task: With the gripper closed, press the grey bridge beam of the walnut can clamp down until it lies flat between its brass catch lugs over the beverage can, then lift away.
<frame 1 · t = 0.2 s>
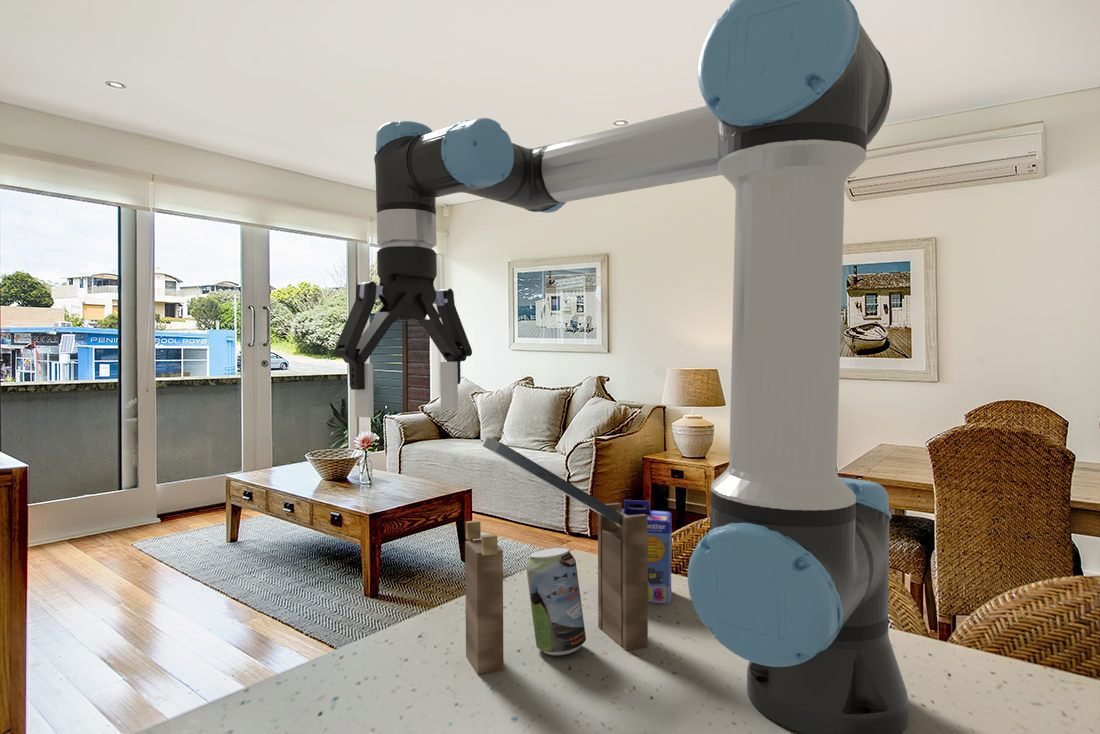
hand: (409, 413, 86), 28 cm above the kitchen counter, tool pointing down, fingers open, 13 cm apart
grey bridge beam: (562, 485, 80), point 20 cm above the kitchen counter, hinge at 32.0°
can clamp frame: (556, 648, 80), on the kitchen counter
beverage can: (556, 650, 80), on the kitchen counter
ink cartridge box: (637, 597, 97), on the kitchen counter
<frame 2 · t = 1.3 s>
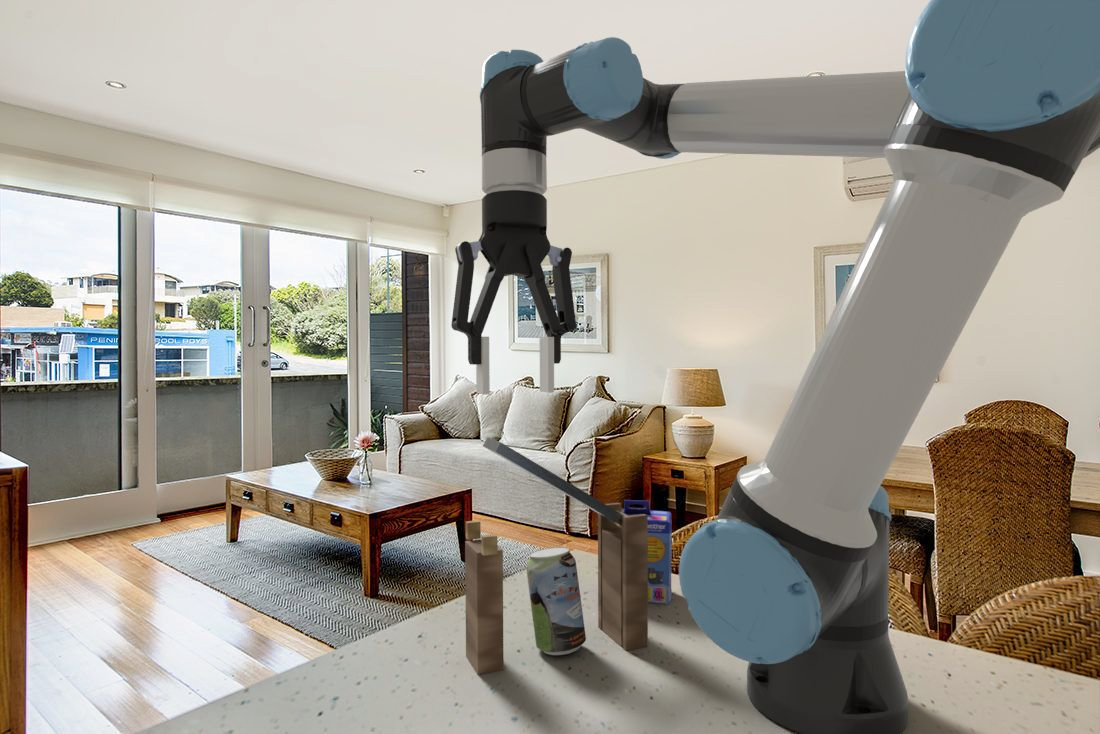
hand: (515, 392, 77), 31 cm above the kitchen counter, tool pointing down, fingers open, 7 cm apart
nothing on the kitchen counter moved.
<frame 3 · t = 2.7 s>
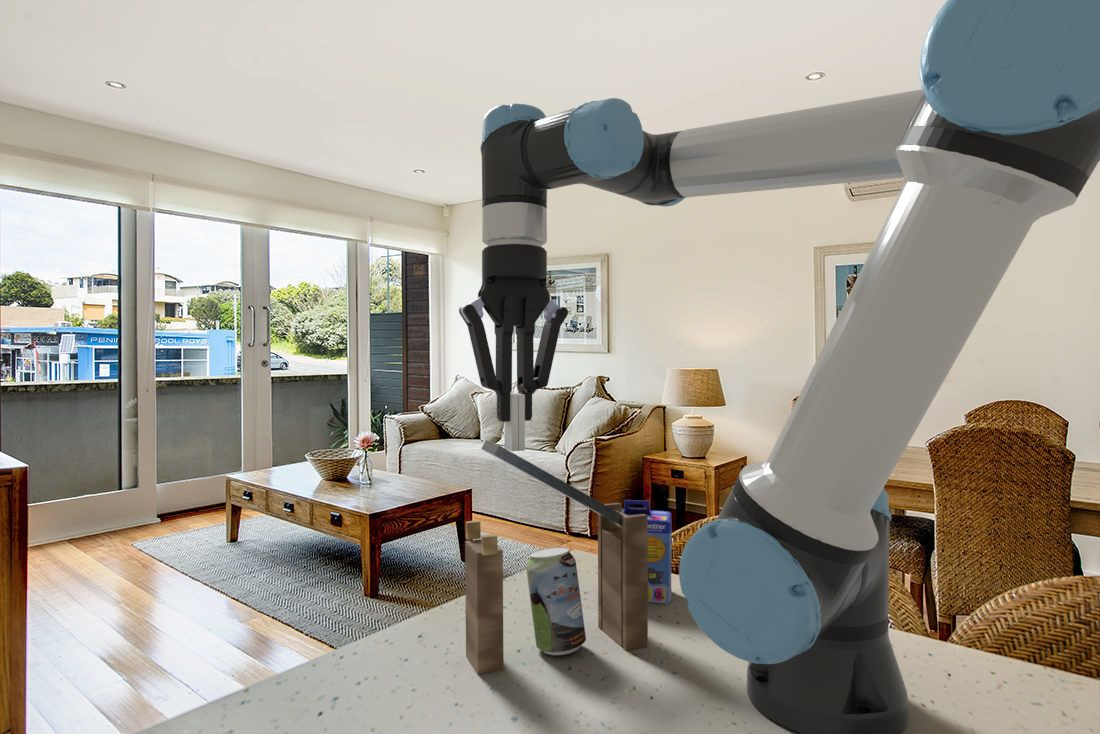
hand: (514, 449, 77), 24 cm above the kitchen counter, tool pointing down, fingers closed
grey bridge beam: (561, 487, 80), point 20 cm above the kitchen counter, hinge at 30.9°, touching gripper
everything else where it was.
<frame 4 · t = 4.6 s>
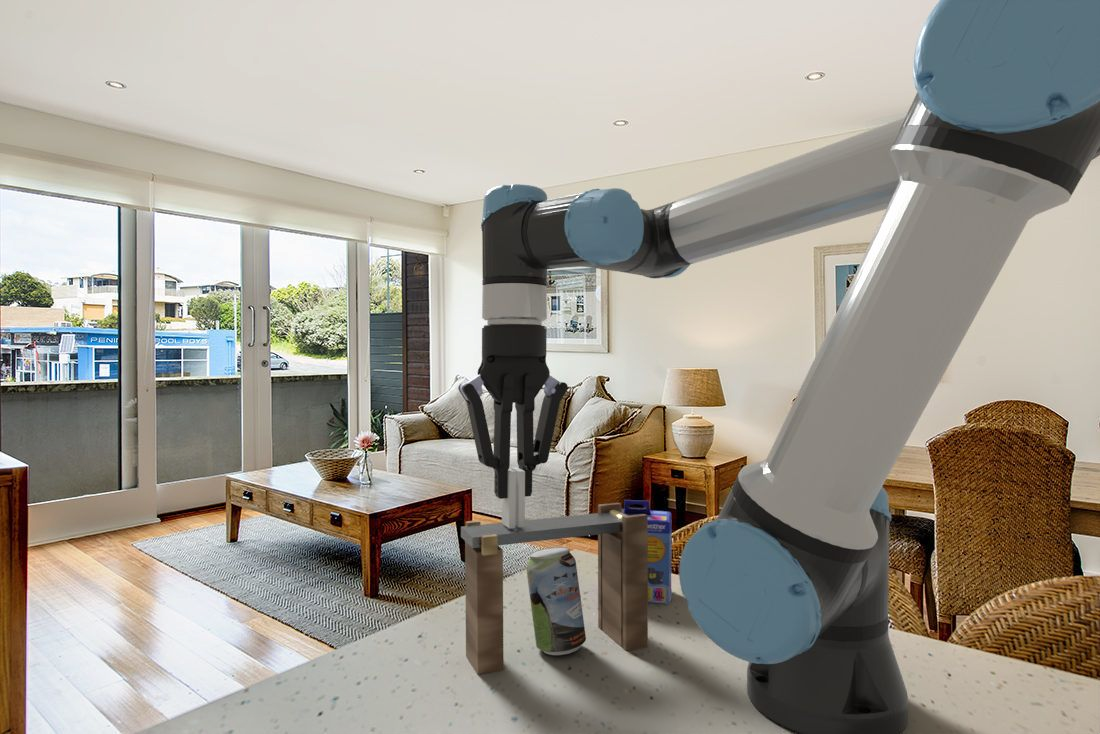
hand: (513, 524, 78), 16 cm above the kitchen counter, tool pointing down, fingers closed, pressing on grey bridge beam
grey bridge beam: (551, 528, 79), point 15 cm above the kitchen counter, hinge at 0.5°, touching gripper
everything else where it was.
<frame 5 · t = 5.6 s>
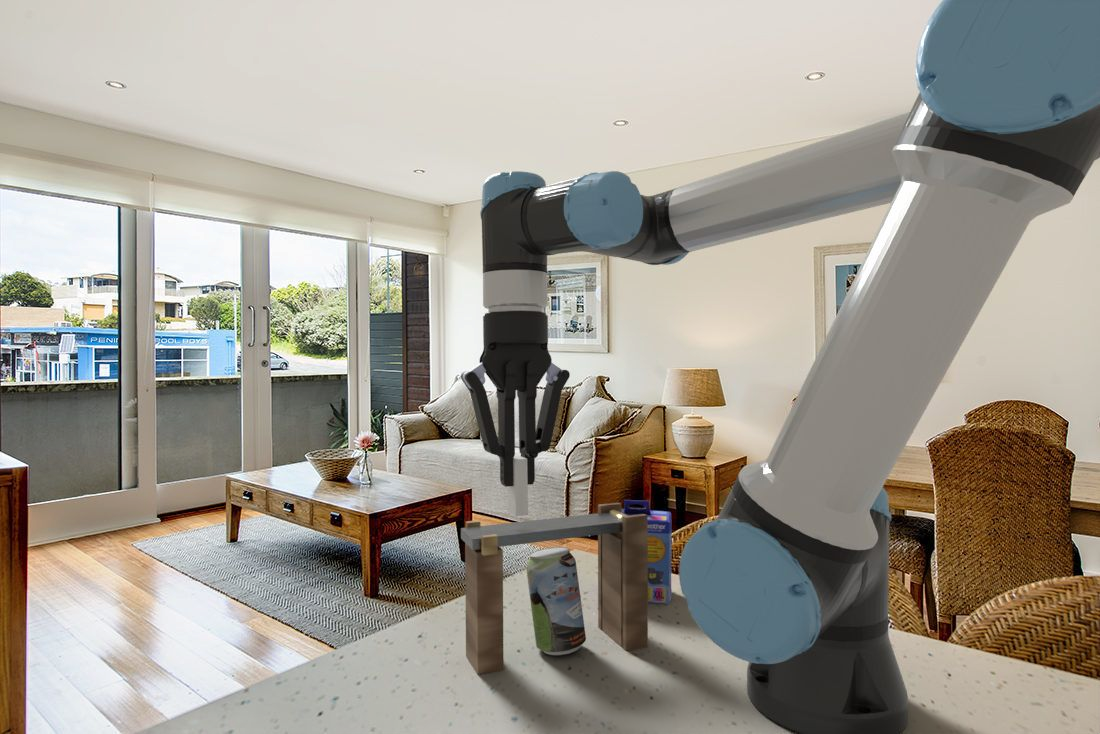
hand: (517, 512, 77), 17 cm above the kitchen counter, tool pointing down, fingers closed
grey bridge beam: (551, 529, 79), point 15 cm above the kitchen counter, hinge at 0.0°
everything else where it was.
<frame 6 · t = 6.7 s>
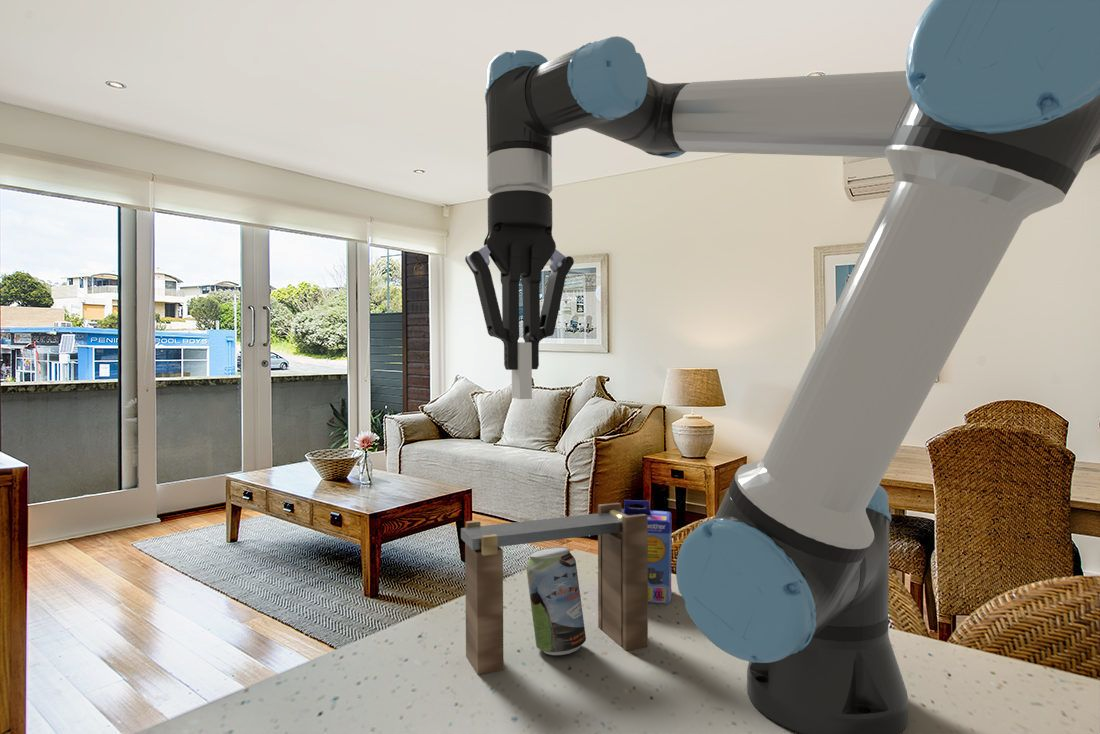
hand: (521, 398, 77), 30 cm above the kitchen counter, tool pointing down, fingers closed
nothing on the kitchen counter moved.
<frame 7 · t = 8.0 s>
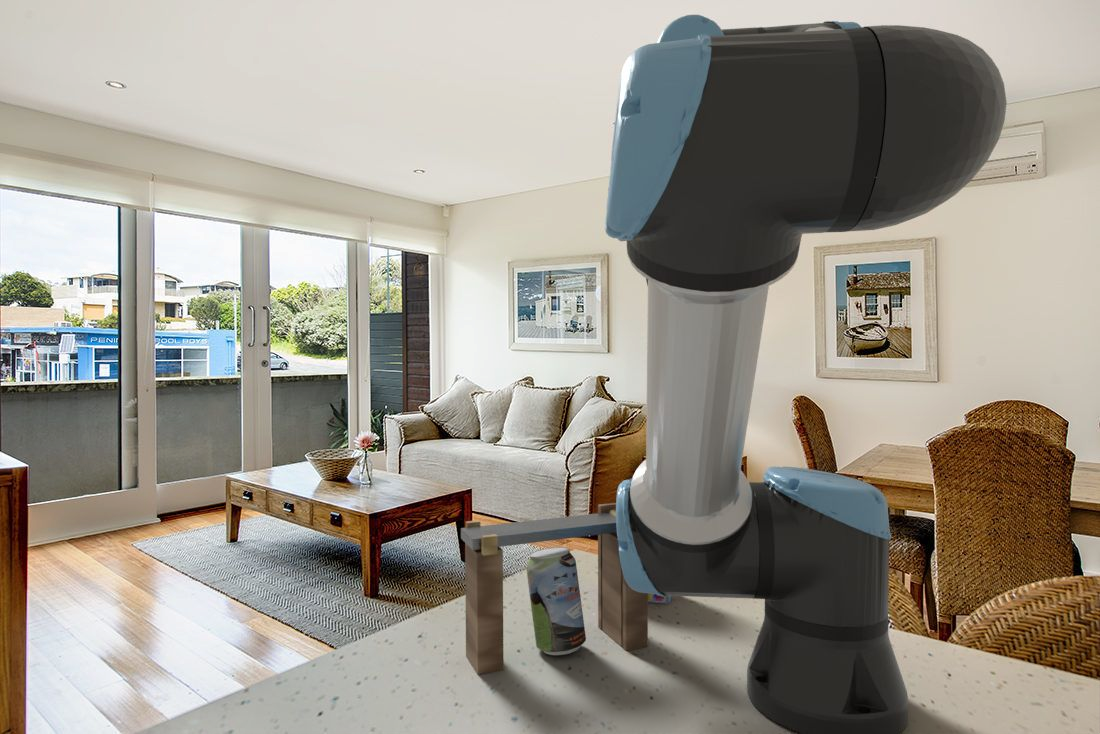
hand: (680, 362, 85), 34 cm above the kitchen counter, tool pointing down, fingers closed
nothing on the kitchen counter moved.
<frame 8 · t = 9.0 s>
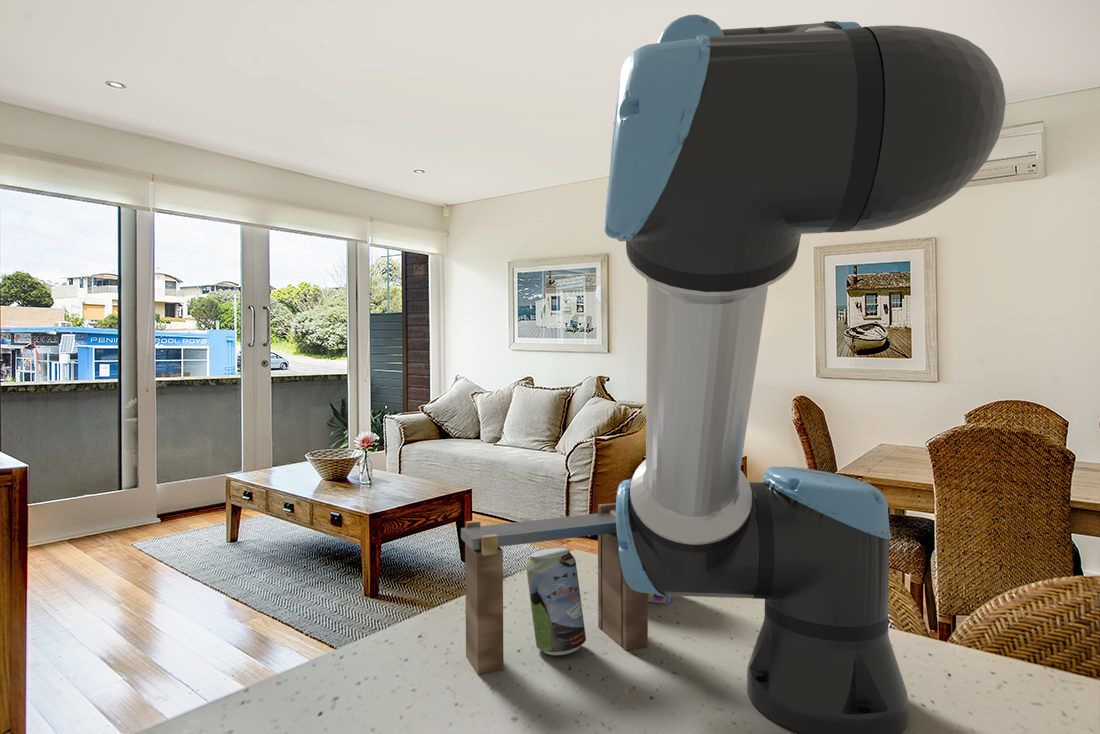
hand: (680, 362, 85), 34 cm above the kitchen counter, tool pointing down, fingers closed
nothing on the kitchen counter moved.
at the end: grey bridge beam at +0° (first picture: +32°); beverage can moved 0.2 cm from its start; beverage can tilted 0° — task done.
